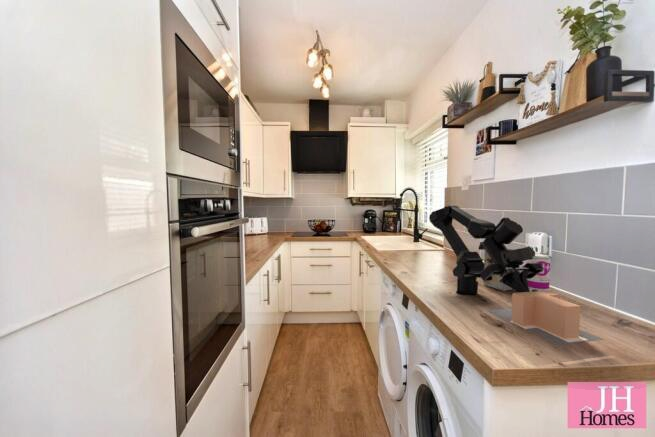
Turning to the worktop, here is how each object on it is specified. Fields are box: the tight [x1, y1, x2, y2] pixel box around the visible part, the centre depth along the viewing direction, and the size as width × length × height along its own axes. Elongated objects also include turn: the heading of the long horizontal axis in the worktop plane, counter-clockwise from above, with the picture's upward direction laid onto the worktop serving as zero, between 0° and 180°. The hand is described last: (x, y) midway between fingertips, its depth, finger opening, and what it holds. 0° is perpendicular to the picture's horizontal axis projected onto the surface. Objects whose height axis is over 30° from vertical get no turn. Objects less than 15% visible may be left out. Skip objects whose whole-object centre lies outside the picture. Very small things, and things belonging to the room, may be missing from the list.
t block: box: [511, 290, 581, 339], centre depth 73 cm, size 12×12×8 cm
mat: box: [485, 307, 605, 346], centre depth 76 cm, size 22×15×1 cm
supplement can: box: [522, 252, 552, 292], centre depth 103 cm, size 8×8×15 cm
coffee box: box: [483, 248, 514, 292], centre depth 111 cm, size 9×6×16 cm
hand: (528, 297), depth 79 cm, fingers closed
